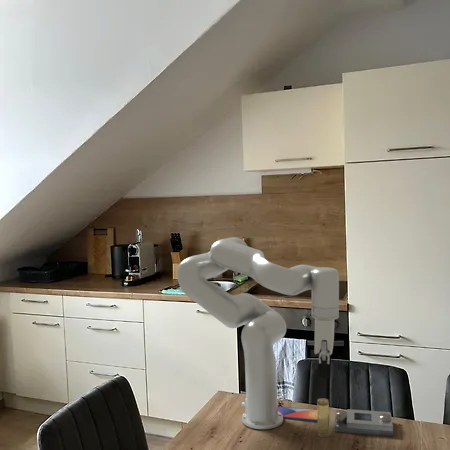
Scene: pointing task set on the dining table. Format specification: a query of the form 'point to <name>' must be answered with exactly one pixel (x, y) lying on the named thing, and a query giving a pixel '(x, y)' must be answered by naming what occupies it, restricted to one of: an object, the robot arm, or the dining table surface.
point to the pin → (323, 417)
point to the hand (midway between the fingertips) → (324, 371)
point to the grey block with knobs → (364, 422)
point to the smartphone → (299, 414)
